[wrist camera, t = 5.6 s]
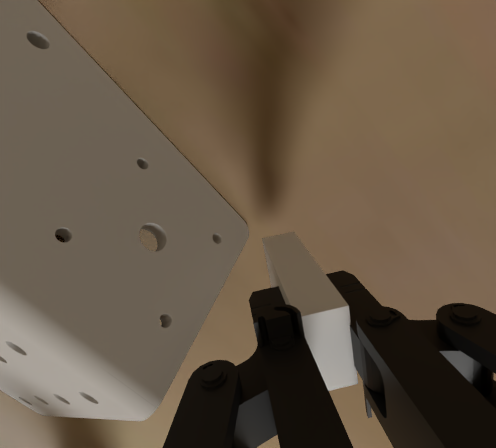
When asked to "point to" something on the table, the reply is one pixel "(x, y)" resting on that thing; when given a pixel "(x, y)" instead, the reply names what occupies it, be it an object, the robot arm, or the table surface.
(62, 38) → the bracket
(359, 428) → the table surface
